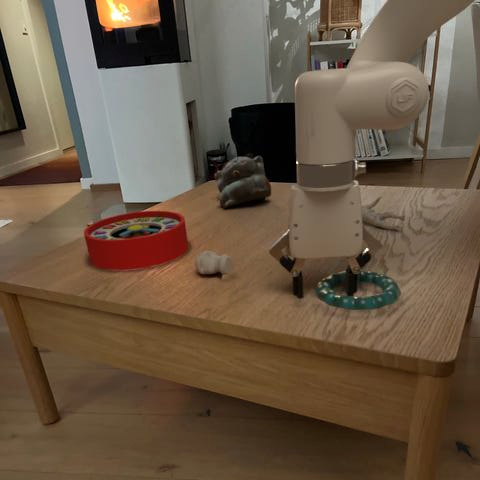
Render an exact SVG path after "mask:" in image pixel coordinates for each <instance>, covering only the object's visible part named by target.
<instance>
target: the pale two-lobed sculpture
mask: <svg viewBox="0 0 480 480" xmlns="http://www.w3.org/2000/svg"><path fill="white" fill-rule="evenodd" d="M194 265H195V266H194V267H195V269H196V271H197V272H198V273H199V274H201V275H215V274H217V273H220V274H221V275H222V276H223V275H229V274H230V273H232V272H234V271H235V263H234V261H233V259H232V258H231V256H229V254H227V253H223V254H222V255H219V254H217V253H216V252H214V251H212V250H205V251H203V252H200V253H199V255H198V256H197V257H196V259H195V263H194Z"/></svg>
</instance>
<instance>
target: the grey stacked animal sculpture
mask: <svg viewBox="0 0 480 480" xmlns="http://www.w3.org/2000/svg"><path fill="white" fill-rule="evenodd" d="M214 178H215V181H216V185H217V186H216V187H217V189H218V191H219V196H218V201H219V204H220V207H222V208H223V209H227V208H229V207H231V206H234V205H237V204H241V203H247V202H251V201H263V200H266V199H267V198H269V197H271V196H272V185H271V182H270V180H269V178H267V177H266V173H265V164H264V159H263V157H262V156H260V155H257V156H254V154H253V153H252V152H251V153H250V152H249V153H247V154H246V155H244V156H238V157H234V158H233V159H230V160H229V161H227V162H225V163H224V164H223V166H222V169H220V170H217V172H216V173H214Z"/></svg>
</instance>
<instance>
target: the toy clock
mask: <svg viewBox="0 0 480 480" xmlns="http://www.w3.org/2000/svg"><path fill="white" fill-rule="evenodd" d="M83 236H84V239H85V244H86V249H87V253H88V257H89V261H90V263H91V265H92V266H93V267H96V268H97V269H101V270H105V271H113V272H114V271H115V272H116V271H117V272H122V271H123V272H125V271H138V270H144V269H149V268H153V267H158V266H162V265H165V264H167V263H171V262H173V261H175V260H177V259H179V258H181V257H183V256H184V255H185V254H186V253H187V252H188V250H189V240H188V233H187V226H186V220H185V216H184V215H182V214H180V213H178V212H175V211H170V210H169V211H168V210H144V211H143V210H142V211H134V212H126V213H122V214H117V215H114V216H113V215H112V216H109V217H106V218H102V219H100V220H98V221H94V222H93V223H91V224H89V225H88V226H86V227H85V229H84V231H83Z"/></svg>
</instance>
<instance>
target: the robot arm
mask: <svg viewBox="0 0 480 480" xmlns="http://www.w3.org/2000/svg"><path fill="white" fill-rule="evenodd" d="M475 1H476V0H386V1H385V2H384V4H383V6H381V8H380V9H379V11H378V12H377V14H376V15H375V16H374V17H373V19H372V21H371V22H370V24H369V25H368V26H367V28H366V31H365V32H364V34H363V36H362V37H361V39H360V41H359V42H358V44H357V46H356V48H355V50H354V52H353V54H352V56H351V58H350V60H349V62H348V64H347V66H346V68H329V69H326V68H325V69H316V70H315V69H314V70H309V71H305V72H303V73H301V74H299V75H298V77H297V78H296V81H295V85H294V111H295V112H294V113H295V115H294V116H295V159H296V160H295V161H296V183H293V184H292V185H291V187H290V192H289V199H288V216H287V217H288V220H287V221H288V223H287V230H286V231H285V232H284V233H282V235H281V236H279V237H278V238H277V240H276V241H274V243H273V244H272V245H270V247H269V248H268V253H269V255H270V256H271V257H272V258H273V259H275V260H276V262H278V263H279V264H280V266H281V267H283V268H284V270H286V271H287V272H288V273H290V275H291V277H292V294H293V295H297V298H298V299H303V298H304V278H303V270H302V268H303V267H304V265H305V262H306V261H307V260H317V259H319V260H321V259H322V260H323V259H338V258H339V259H340V258H345V260H346V262H347V266H346V268H345V271H346V281H345V283H344V285H345V287H344V288H345V292H346V296H350V297H354V292H358V282H359V281H358V273H359V272H360V271H361V270H363V268H364V267H365V266H367V264H368V263H369V262H370V261H372V258H373V257H375V256H376V255H377V254H378V253H379V252H380V251H381V250H382V249H383V244H382V242H381V240H379V239H377V238H376V236H374V235H373V234H372V233H371V232H370V231H368V230H367V229H366V228H365V227H364V226H363V227H362V225H363V220H362V206H363V205H362V196H361V190H360V189H361V188H360V184H359V181H358V180H356V177H358V176H359V175H361V174H366V173H367V163H366V162H360V161H358V160H356V159H355V158H356V133H357V130H379V131H380V130H381V131H393V130H398V129H402V128H404V127H406V126H409V125H411V123H413V122H415V121H416V120H417V119H418V118H419V116H421V114H423V112H424V110H425V108H426V106H427V104H428V100H429V96H430V95H429V94H430V89H429V83H428V80H427V78H426V76H425V74H424V73H423V72H422V71H421V70H420V68H418V67H416V66H415V65H414V64H411V63H409V61H410V60H411V59H412V57H413V55H414V54H415V53H416V52H417V51H418V50H419V48H420V47H421V46H422V45H423V44H424V43H425V41H427V39H428V38H429V37H430V36H432V35H433V34H434V33H435V32H436V31H437V30H438V29H440V28H441V27H442V26H443V25H445V24H447V23H448V22H450V21H451V20H453V19H454V18H455V17H456V16H458V15H460V14H461V13H462V12H463V11H464V10H466V9H467V8H468V7H469V6H471V5H472V4H473V3H474V2H475ZM357 175H358V176H357ZM363 242H364V243H365V244H367V247H366V248H365V249H364V250H362V248H363ZM287 246H288V248H289V252H290V256H291V257H292V259H291V257H289V256H288V255H287V254H285V253H284V252H283V250H284V248H286V247H287ZM357 281H358V282H357Z"/></svg>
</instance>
